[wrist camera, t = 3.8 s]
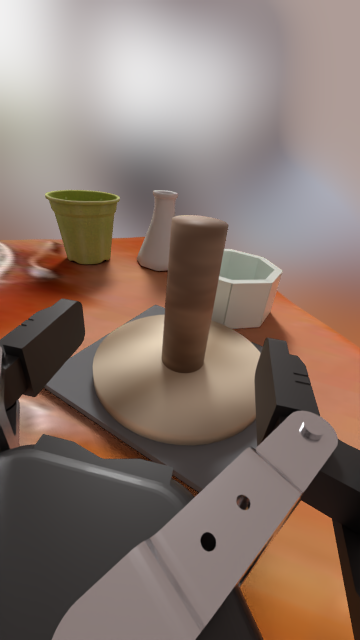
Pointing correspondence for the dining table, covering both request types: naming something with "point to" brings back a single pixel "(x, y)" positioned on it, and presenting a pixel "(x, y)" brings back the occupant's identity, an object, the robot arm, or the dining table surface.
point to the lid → (181, 353)
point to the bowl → (245, 290)
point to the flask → (159, 233)
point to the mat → (188, 460)
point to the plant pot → (85, 223)
